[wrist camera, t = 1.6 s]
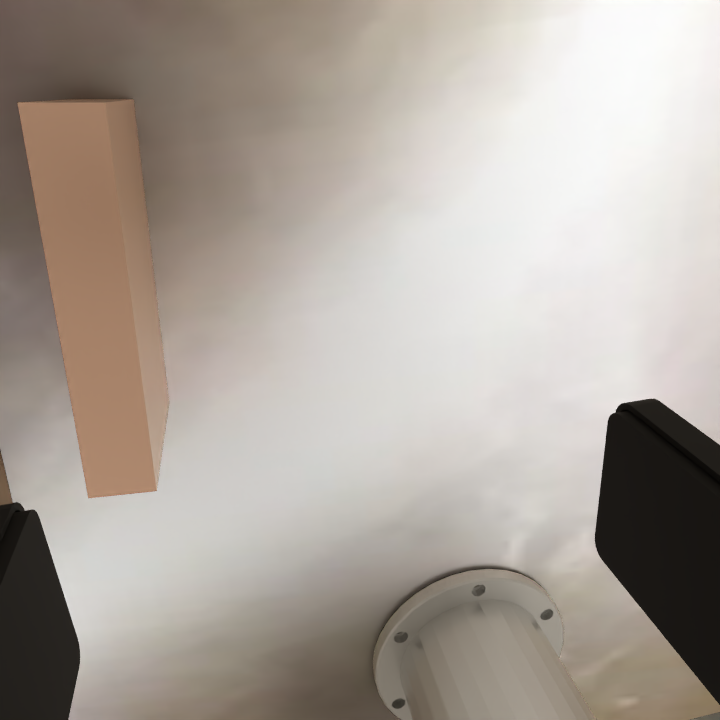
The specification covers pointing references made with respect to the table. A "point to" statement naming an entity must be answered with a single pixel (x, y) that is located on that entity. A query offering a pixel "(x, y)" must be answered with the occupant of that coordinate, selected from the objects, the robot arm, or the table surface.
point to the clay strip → (101, 284)
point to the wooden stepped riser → (4, 485)
